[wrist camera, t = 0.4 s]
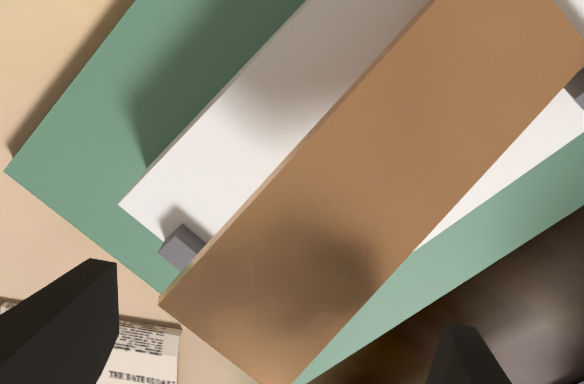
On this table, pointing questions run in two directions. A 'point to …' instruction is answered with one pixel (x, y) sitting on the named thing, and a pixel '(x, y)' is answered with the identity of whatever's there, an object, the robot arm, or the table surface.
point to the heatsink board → (172, 91)
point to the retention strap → (373, 180)
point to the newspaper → (138, 354)
